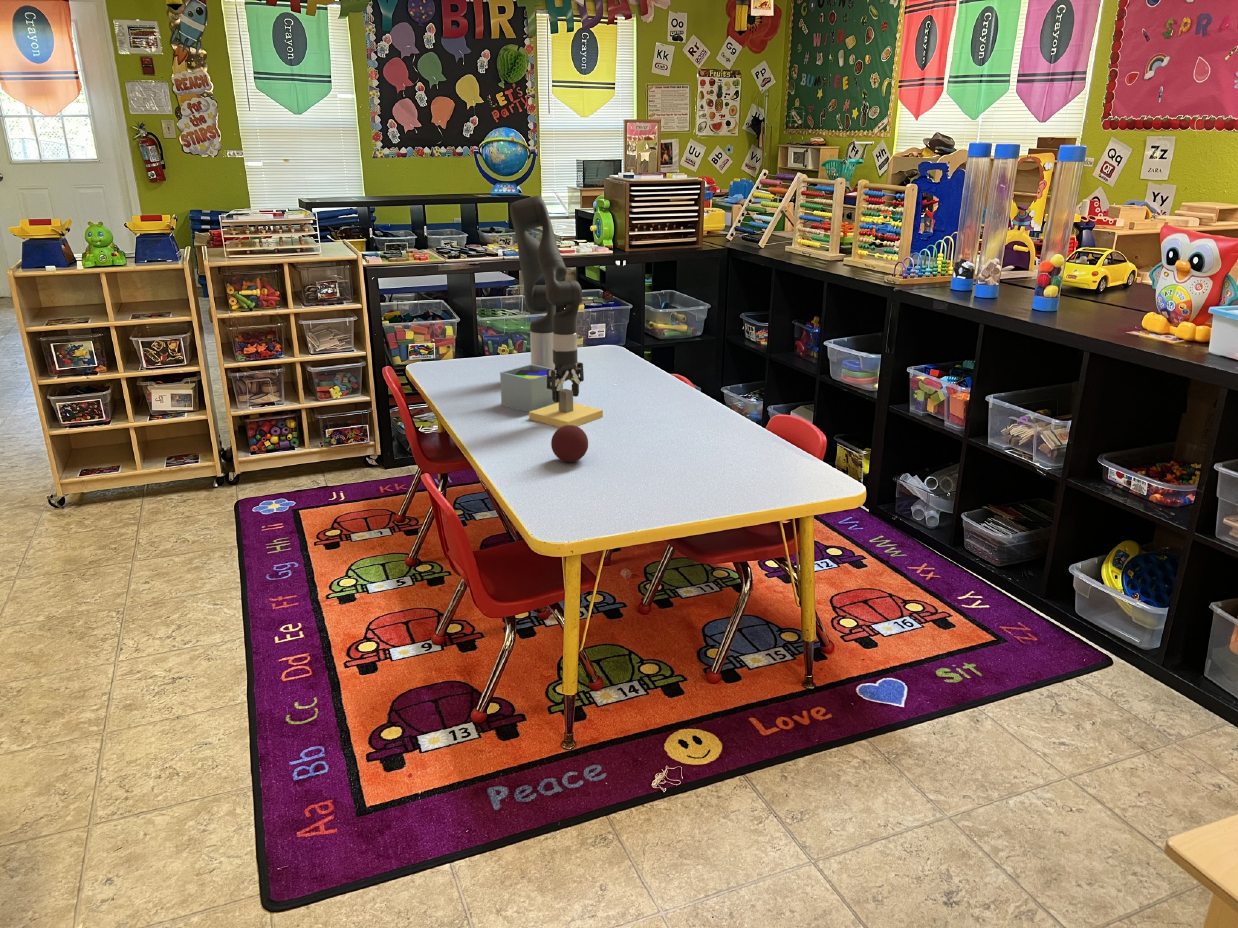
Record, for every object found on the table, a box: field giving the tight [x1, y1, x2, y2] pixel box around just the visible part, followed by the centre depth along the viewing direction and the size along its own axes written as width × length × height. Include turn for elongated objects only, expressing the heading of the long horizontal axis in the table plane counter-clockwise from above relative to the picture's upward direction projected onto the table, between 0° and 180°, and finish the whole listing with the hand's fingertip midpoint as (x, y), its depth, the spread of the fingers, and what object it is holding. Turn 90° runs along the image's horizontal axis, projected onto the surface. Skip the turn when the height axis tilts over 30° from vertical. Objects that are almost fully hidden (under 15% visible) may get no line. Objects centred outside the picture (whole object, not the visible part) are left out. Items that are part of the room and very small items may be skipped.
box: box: [499, 363, 564, 413], centre depth 291 cm, size 14×14×11 cm
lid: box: [528, 388, 604, 428], centre depth 278 cm, size 16×16×9 cm
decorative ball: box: [550, 425, 589, 463], centre depth 241 cm, size 10×10×10 cm
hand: (565, 399), depth 277 cm, fingers open, 8 cm apart
